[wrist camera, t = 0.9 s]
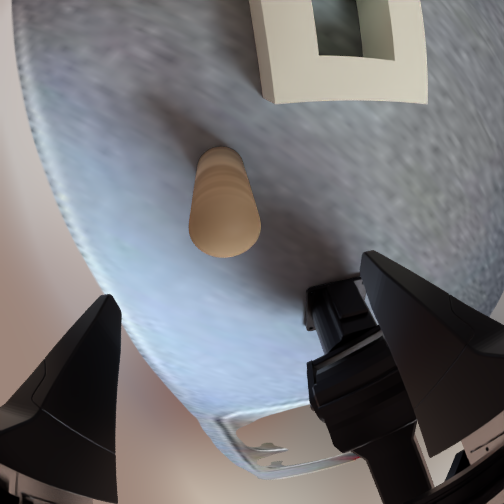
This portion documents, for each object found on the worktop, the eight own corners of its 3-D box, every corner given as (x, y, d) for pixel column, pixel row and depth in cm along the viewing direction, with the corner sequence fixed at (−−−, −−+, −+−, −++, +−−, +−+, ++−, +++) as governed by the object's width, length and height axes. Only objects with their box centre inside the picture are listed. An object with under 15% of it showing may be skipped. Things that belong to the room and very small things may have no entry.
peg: (246, 185, 20) (264, 250, 13) (202, 193, 20) (198, 262, 13) (240, 142, 18) (256, 189, 11) (193, 151, 18) (180, 203, 11)
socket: (394, 94, 16) (427, 104, 13) (263, 97, 16) (275, 104, 13) (381, -22, 10) (413, -32, 7) (242, -34, 10) (250, -57, 7)
